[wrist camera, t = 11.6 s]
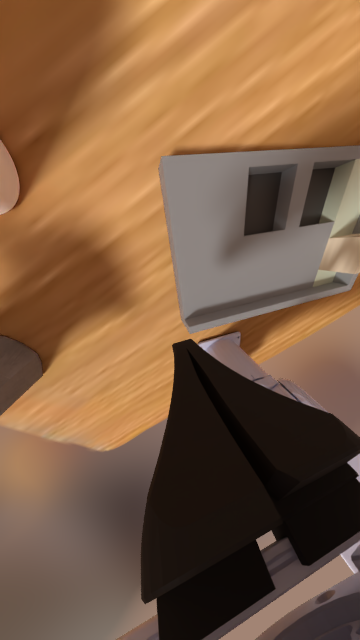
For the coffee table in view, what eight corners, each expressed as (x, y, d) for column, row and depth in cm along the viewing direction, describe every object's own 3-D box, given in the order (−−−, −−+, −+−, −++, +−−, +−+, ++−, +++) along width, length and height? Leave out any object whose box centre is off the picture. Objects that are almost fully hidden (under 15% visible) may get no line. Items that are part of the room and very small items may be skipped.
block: (339, 264, 21) (378, 268, 18) (318, 269, 20) (354, 274, 17) (351, 234, 19) (398, 231, 16) (328, 238, 18) (372, 236, 15)
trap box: (321, 284, 25) (350, 290, 21) (181, 319, 21) (189, 333, 17) (368, 154, 17) (427, 130, 13) (158, 168, 13) (165, 139, 9)
